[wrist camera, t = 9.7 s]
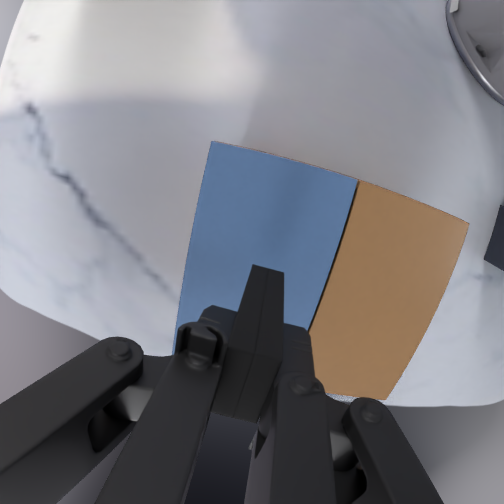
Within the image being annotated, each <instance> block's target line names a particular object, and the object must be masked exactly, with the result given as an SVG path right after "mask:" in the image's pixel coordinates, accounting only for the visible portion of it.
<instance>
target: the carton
mask: <svg viewBox="0 0 504 504" xmlns="http://www.w3.org/2000/svg"><path fill="white" fill-rule="evenodd" d="M215 142H217V141H215ZM219 143H222V142H219ZM224 144H227V143H224ZM229 145H231V144H229ZM233 146H236V145H233ZM238 147H240V146H238ZM242 148H245V147H242ZM247 149H249V148H247ZM251 150H253V149H251ZM255 151H258V150H255ZM259 152H262V151H259ZM264 153H266V152H264ZM268 154H270V153H268ZM272 155H274V154H272ZM275 156H278V155H275ZM279 157H281V156H279ZM283 158H285V157H283ZM287 159H289V158H287ZM291 160H293V159H291ZM294 161H296V160H294ZM298 162H300V161H298ZM302 163H304V162H302ZM305 164H307V163H305ZM309 165H311V164H309ZM312 166H314V165H312ZM316 167H317V166H316ZM319 168H321V167H319ZM322 169H324V168H322ZM326 170H327V169H326ZM329 171H331V170H329ZM332 172H334V171H332ZM335 173H337V172H335ZM339 174H340V173H339ZM342 175H343V174H342ZM345 176H347V175H345ZM348 177H350V176H348ZM351 178H353V177H351ZM354 179H356V178H354ZM357 180H358V181H357V185H356V188H355V192H354V195H353V199H352V202H351V205H350V209H349V212H348V215H347V219H346V222H345V225H344V228H343V232H342V235H341V238H340V241H339V244H338V247H337V250H336V253H335V256H334V259H333V262H332V265H331V268H330V271H329V274H328V277H327V280H326V282H325V285H324V288H323V291H322V294H321V296H320V299H319V302H318V304H317V307H316V310H315V313H314V315H313V318H312V320H311V323H310V326H309V328H308V331H307V332H308V333H309V335H310V336H311V343H312V345H311V346H312V354H313V361H314V370H315V377H316V378H317V379H318V380H319V381H320V382H321V383H322V384H323V386H324V389H325V393H332V394H338V395H345V396H353V397H368V398H372V399H379V400H386V399H387V397H388V396H389V394H390V393H391V391H392V390H393V388H394V386H395V385H396V383H397V382H398V380H399V378H400V377H401V375H402V373H403V372H404V370H405V368H406V367H407V365H408V363H409V362H410V360H411V358H412V356H413V355H414V353H415V351H416V349H417V347H418V345H419V344H420V342H421V340H422V338H423V336H424V334H425V332H426V330H427V328H428V326H429V324H430V322H431V320H432V318H433V316H434V314H435V312H436V310H437V308H438V305H439V303H440V301H441V299H442V296H443V294H444V292H445V290H446V287H447V285H448V282H449V280H450V277H451V275H452V272H453V270H454V267H455V265H456V262H457V259H458V257H459V254H460V251H461V248H462V245H463V243H464V240H465V237H466V233H467V230H468V227H469V223H467V222H465V221H464V220H461V219H459V218H457V217H455V216H452V215H450V214H448V213H446V212H443V211H441V210H438V209H436V208H434V207H431V206H429V205H426V204H424V203H421V202H419V201H416V200H414V199H411V198H409V197H406V196H404V195H401V194H398V193H396V192H393V191H390V190H387V189H385V188H382V187H379V186H376V185H373V184H371V183H368V182H365V181H362V180H359V179H357Z"/></svg>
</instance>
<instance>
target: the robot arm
mask: <svg viewBox="0 0 504 504" xmlns="http://www.w3.org/2000/svg"><path fill="white" fill-rule="evenodd" d="M446 18H447V23H448V27H449V31H450V34H451V36H452V39H453V41H454V44H455V46H456V48H457V50H458V52H459V54H460V56H461V57H462V59H463V61H464V62H465V64H466V66H467V67H468V69H469V70H470V72H471V73H472V74H473V76H474V77H475V78H476V80H477V81H478V82H479V83H480V85H481V86H482V87H483V88H484V89H485V90H486V91H487V92H488V93H489V94H490V95H491V96H492V97H493V98H494V99H496V100H497V101H498V102H499V103H501V104H502V105H504V0H448V1H447V5H446ZM311 345H312V343H311V336H310V335H309V333H308V332H307V331H306V329H305V328H304V327H299V326H295V325H291V324H287V323H284V272H281V271H277V270H273V269H269V268H266V267H262V266H258V265H255V264H252V267H251V271H250V274H249V277H248V280H247V283H246V287H245V290H244V293H243V296H242V299H241V302H240V306H239V309H238V312H237V311H233V310H230V309H226V308H223V307H219V306H215V305H211V306H209V307H207V308H206V309H204V310H203V312H202V314H201V315H200V318H199V319H198V321H197V322H188V323H185V324H182V325H181V326H180V327H179V328H178V331H177V338H176V345H175V353H174V355H171V356H165V357H158V356H149V355H144V352H143V350H142V348H141V346H140V345H138V344H137V343H136V342H135V341H133V340H130V339H128V338H124V337H109V338H106V339H104V340H101V341H100V342H98V343H97V344H95V345H93V346H92V347H90V348H89V349H87V350H86V351H84V352H82V353H81V354H79V355H77V356H76V357H74V358H73V359H71V360H70V361H68V362H66V363H65V364H63V365H61V366H60V367H58V368H57V369H55V370H54V371H52V372H51V373H49V374H47V375H46V376H44V377H42V378H41V379H40V380H38V381H36V382H35V383H33V384H32V385H30V386H28V387H27V388H25V389H23V390H22V391H20V392H19V393H17V394H16V395H14V396H12V397H11V398H9V399H8V400H6V401H5V402H3V403H1V404H0V504H56V503H57V502H58V501H60V500H61V499H62V498H63V497H64V496H65V495H66V494H67V493H68V492H69V491H70V490H71V489H73V488H74V487H75V486H76V485H77V484H78V483H79V482H80V481H81V480H82V479H83V478H84V477H85V476H86V475H87V474H88V473H90V472H91V470H93V468H95V467H96V466H97V465H98V464H99V463H100V462H101V461H102V460H103V459H104V458H105V457H106V456H107V455H108V454H109V453H110V452H111V451H112V450H113V449H114V448H115V447H116V446H117V445H118V444H119V443H120V442H121V441H122V440H123V439H124V438H125V437H126V436H127V435H128V434H129V433H130V432H131V431H132V432H131V434H130V436H129V438H128V440H127V442H126V444H125V446H124V448H123V450H122V451H121V453H120V455H119V457H118V459H117V461H116V463H115V465H114V467H113V468H112V470H111V472H110V474H109V476H108V478H107V480H106V482H105V484H104V486H103V488H102V490H101V492H100V494H99V496H98V498H97V500H96V502H95V504H184V501H185V498H186V494H187V491H188V488H189V484H190V481H191V478H192V474H193V471H194V468H195V464H196V461H197V458H198V454H199V451H200V448H201V444H202V441H203V437H204V434H205V431H206V427H207V424H208V420H209V416H210V413H211V412H213V413H216V414H220V415H224V416H227V417H231V418H235V419H240V420H244V421H248V422H253V423H257V421H258V419H259V417H260V421H259V427H258V429H257V431H256V433H255V436H254V438H253V440H252V442H251V444H250V446H249V449H252V448H253V449H252V456H251V463H250V470H249V476H248V483H247V489H246V496H245V502H244V504H444V503H443V501H442V500H441V498H440V496H439V494H438V492H437V490H436V489H435V487H434V485H433V483H432V482H431V480H430V478H429V476H428V475H427V473H426V471H425V469H424V468H423V466H422V464H421V463H420V461H419V459H418V458H417V456H416V454H415V453H414V451H413V449H412V447H411V446H410V444H409V442H408V441H407V439H406V437H405V436H404V434H403V432H402V431H401V429H400V427H399V426H398V424H397V422H396V421H395V419H394V417H393V416H392V414H391V412H390V411H389V410H388V408H387V407H386V406H385V405H384V404H382V403H381V402H379V401H378V400H375V399H372V398H368V397H361V398H357V399H355V400H354V401H353V402H351V404H350V405H347V404H345V403H342V402H339V401H337V400H335V399H333V398H331V397H329V396H327V395H326V394H325V389H324V386H323V384H322V383H321V382H320V381H319V380H318V379H317V378H316V377H315V370H314V361H313V354H312V346H311Z"/></svg>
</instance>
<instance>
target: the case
mask: <svg viewBox="0 0 504 504" xmlns="http://www.w3.org/2000/svg"><path fill="white" fill-rule="evenodd" d="M484 260H486V261H488V262H489V263H491V264H493V265H494V266H496V267H498V268H499V269H501V270H503V271H504V206H502V205H500V209H499V212H498V216H497V220H496V223H495V226H494V230H493V233H492V236H491V239H490V242H489V245H488V248H487V251H486V254H485V257H484Z"/></svg>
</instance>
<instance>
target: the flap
mask: <svg viewBox="0 0 504 504" xmlns="http://www.w3.org/2000/svg"><path fill="white" fill-rule="evenodd" d="M357 181H358V180H357V179H354V178H351V177H348V176H345V175H342V174H339V173H335V172H332V171H329V170H326V169H322V168H319V167H316V166H312V165H309V164H305V163H302V162H298V161H294V160H291V159H287V158H283V157H279V156H275V155H272V154H268V153H264V152H259V151H255V150H251V149H247V148H242V147H238V146H233V145H229V144H224V143H219V142H215V141H212V142H211V146H210V150H209V154H208V158H207V163H206V167H205V171H204V176H203V180H202V185H201V189H200V194H199V199H198V203H197V208H196V213H195V218H194V223H193V228H192V233H191V238H190V244H189V249H188V254H187V260H186V266H185V271H184V277H183V283H182V289H181V295H180V302H179V308H178V315H177V322H176V329H175V336H174V343H173V351H172V355H174V353H175V345H176V338H177V331H178V328H179V327H180V326H181V325H182V324H185V323H188V322H197V321H198V319H199V318H200V315H201V314H202V312H203V310H204V309H206V308H207V307H209V306H211V305H215V306H219V307H223V308H226V309H230V310H233V311H237V312H238V309H239V306H240V302H241V299H242V296H243V293H244V290H245V287H246V283H247V280H248V277H249V274H250V271H251V267H252V264H255V265H258V266H262V267H266V268H269V269H273V270H277V271H281V272H284V323H287V324H291V325H295V326H299V327H304V328H305V329H306V331H308V328H309V326H310V323H311V320H312V318H313V315H314V313H315V310H316V307H317V304H318V302H319V299H320V296H321V294H322V291H323V288H324V285H325V282H326V280H327V277H328V274H329V271H330V268H331V265H332V262H333V259H334V256H335V253H336V250H337V247H338V244H339V241H340V238H341V235H342V232H343V228H344V225H345V222H346V219H347V215H348V212H349V209H350V205H351V202H352V199H353V195H354V192H355V188H356V185H357Z"/></svg>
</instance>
